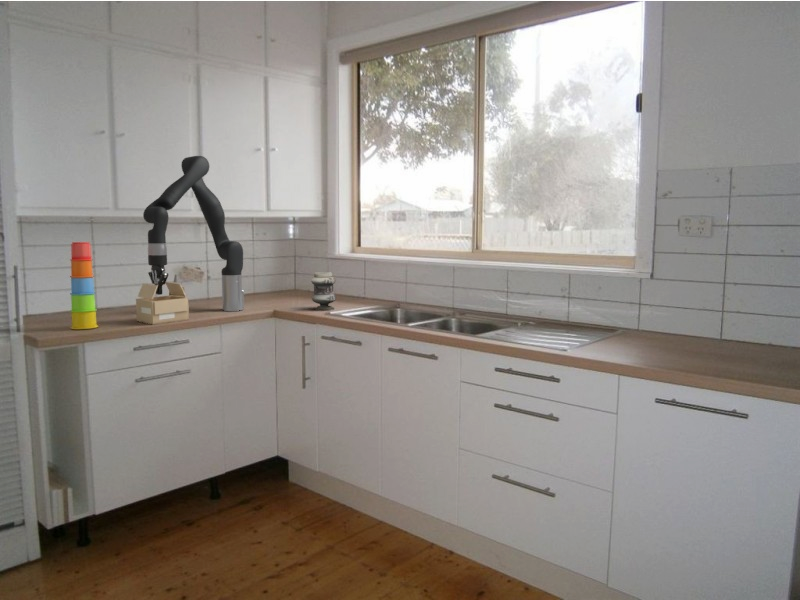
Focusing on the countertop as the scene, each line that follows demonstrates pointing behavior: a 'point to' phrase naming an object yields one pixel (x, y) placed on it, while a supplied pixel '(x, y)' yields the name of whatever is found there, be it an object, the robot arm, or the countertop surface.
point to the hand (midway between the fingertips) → (159, 294)
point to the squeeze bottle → (176, 280)
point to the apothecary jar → (323, 290)
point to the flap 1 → (147, 291)
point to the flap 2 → (175, 288)
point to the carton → (162, 309)
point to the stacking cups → (82, 287)
